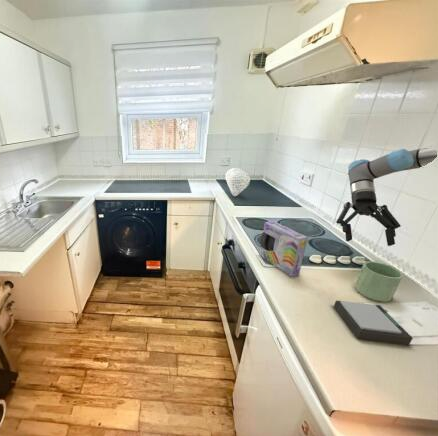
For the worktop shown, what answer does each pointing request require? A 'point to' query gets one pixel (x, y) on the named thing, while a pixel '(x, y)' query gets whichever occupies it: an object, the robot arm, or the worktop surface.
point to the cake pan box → (283, 247)
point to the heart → (237, 181)
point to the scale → (371, 323)
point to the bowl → (378, 281)
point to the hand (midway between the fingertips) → (369, 242)
